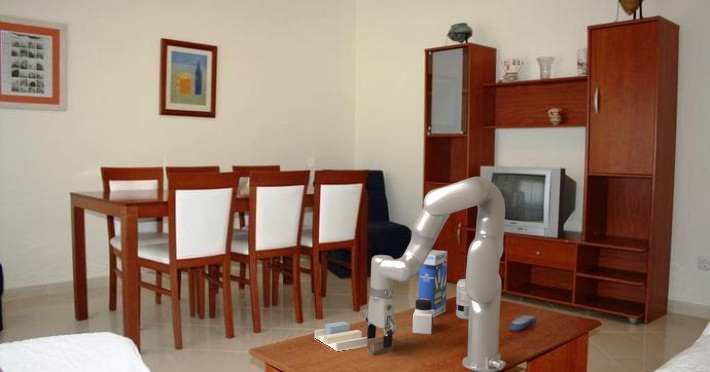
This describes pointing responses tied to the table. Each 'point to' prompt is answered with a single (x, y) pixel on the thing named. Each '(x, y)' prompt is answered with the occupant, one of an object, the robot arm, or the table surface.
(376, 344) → the walnut bar
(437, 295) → the string lights box
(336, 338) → the slot board
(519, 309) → the table surface
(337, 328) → the slate bar
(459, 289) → the supplement can
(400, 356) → the table surface
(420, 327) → the medicine bottle
